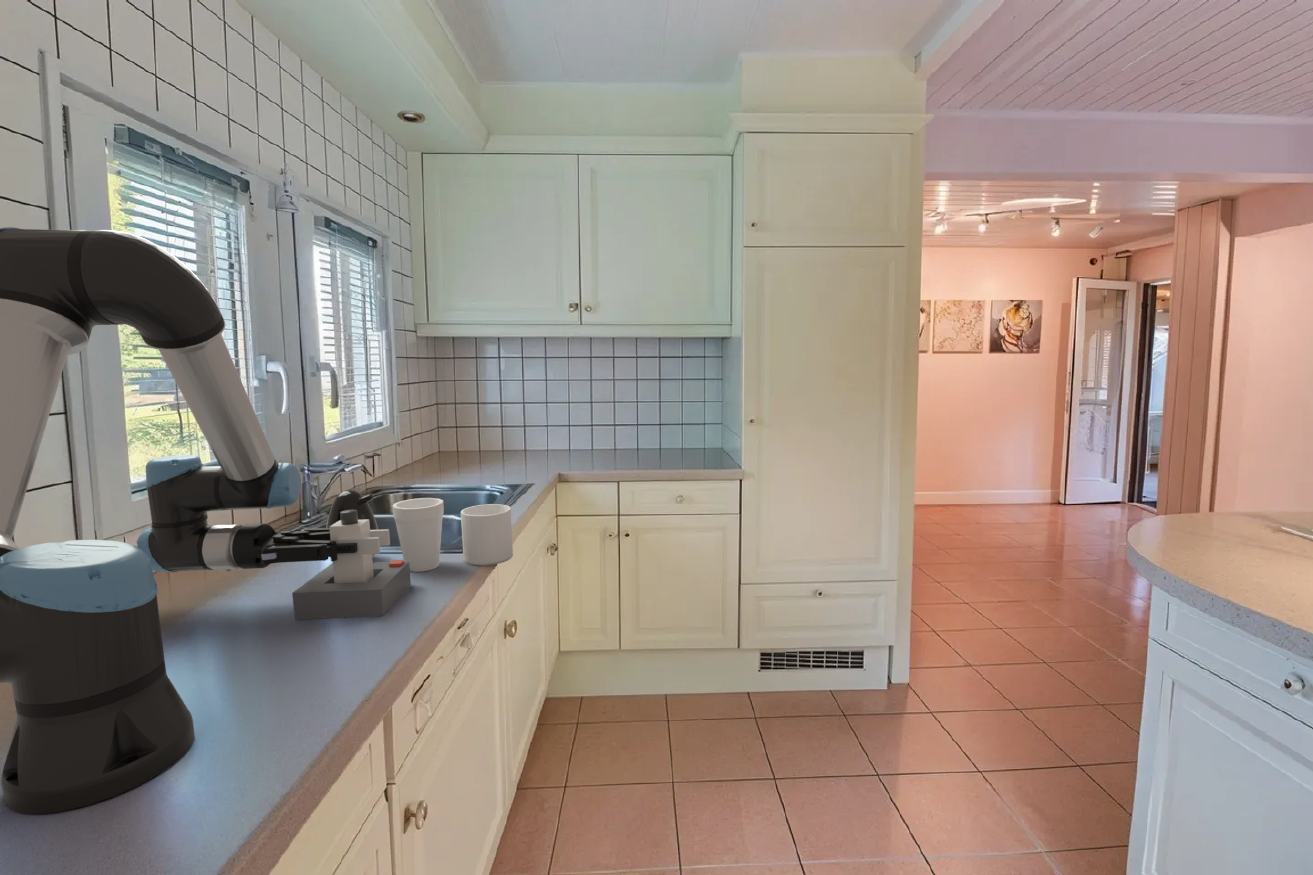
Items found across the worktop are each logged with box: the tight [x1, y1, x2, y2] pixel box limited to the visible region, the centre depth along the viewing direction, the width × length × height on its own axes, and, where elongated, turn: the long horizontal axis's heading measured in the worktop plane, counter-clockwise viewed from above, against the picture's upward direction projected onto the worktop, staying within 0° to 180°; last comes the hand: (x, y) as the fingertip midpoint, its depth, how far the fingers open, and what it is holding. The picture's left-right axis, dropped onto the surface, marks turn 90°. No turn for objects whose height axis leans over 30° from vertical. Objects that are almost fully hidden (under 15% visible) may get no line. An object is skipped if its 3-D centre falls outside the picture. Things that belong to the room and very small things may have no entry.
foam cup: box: [392, 497, 445, 573], centre depth 127 cm, size 10×9×13 cm
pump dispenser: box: [325, 489, 379, 559], centre depth 130 cm, size 10×10×15 cm
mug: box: [460, 503, 514, 567], centre depth 133 cm, size 13×10×10 cm
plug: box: [329, 510, 374, 583], centre depth 109 cm, size 4×5×13 cm
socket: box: [291, 559, 412, 621], centre depth 110 cm, size 14×14×5 cm
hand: (383, 541), depth 109 cm, fingers closed on plug, 4 cm apart
